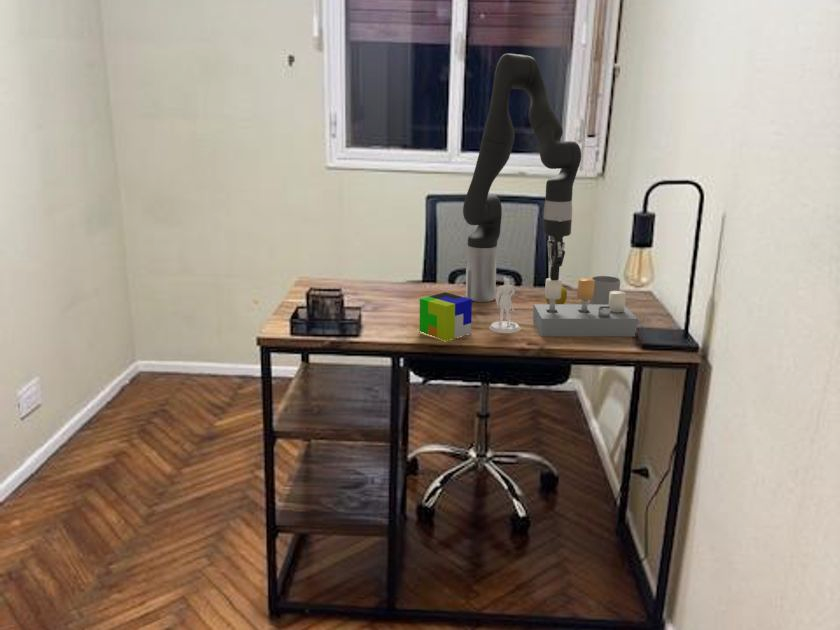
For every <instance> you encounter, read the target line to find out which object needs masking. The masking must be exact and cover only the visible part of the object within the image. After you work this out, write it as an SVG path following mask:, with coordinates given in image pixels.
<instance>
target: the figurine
mask: <svg viewBox="0 0 840 630" xmlns="http://www.w3.org/2000/svg"><path fill="white" fill-rule="evenodd" d="M502 280H503V282H504V283H503V285H500V286H499V285H498V287H497V288H496V292H495V301H496V306H497V307H499V309H500V311H499V321H494V322H492V323H491V324H490V325H489V327H488V328H489V330H490V331H491V332H494V333H499V334H514V333H517V332H520V331H521V327H520V325H519V324H518V323H516V322H515V321H513V320H512V318H511V315H510V310H512V312H515V310H514V306H513V302H512V296H514V295H515V293H516V287H515V285H512V284H511V282H510V281H511V280H510V279H509V278H507V277H506V276H504V277H503V278H502ZM504 311H505V319H506V320H503V319H504Z"/></svg>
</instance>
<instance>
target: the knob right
mask: <svg viewBox="0 0 840 630" xmlns="http://www.w3.org/2000/svg"><path fill="white" fill-rule="evenodd" d="M626 295H627V293H626V292H624V291H611V292H610V294H609V307H610V308H611V312H613V313H619V312H624V310H625V306H626Z"/></svg>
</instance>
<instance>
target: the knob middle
mask: <svg viewBox="0 0 840 630" xmlns="http://www.w3.org/2000/svg"><path fill="white" fill-rule="evenodd" d="M594 281H595V280H594V279H592V278H590V277H589V278H588V277H582V278H581V277H580V278H578V280H577V294H576V298H578V299H580V300H581V304H582V307H581V312H587V305H588V304H589V302H588V301H589V300H590V299H593V294H594Z"/></svg>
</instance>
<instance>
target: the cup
mask: <svg viewBox="0 0 840 630" xmlns="http://www.w3.org/2000/svg"><path fill="white" fill-rule="evenodd" d="M591 279H594V280H595V281H594V294H593V299H589V304H609V294H610V292H611V291H620V289H621V278H618V277H613V276H609V275H598V276H597V275H596V276H593V277H592V278H591Z"/></svg>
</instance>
